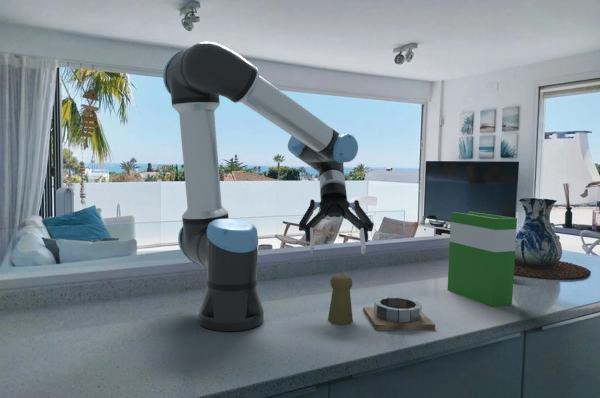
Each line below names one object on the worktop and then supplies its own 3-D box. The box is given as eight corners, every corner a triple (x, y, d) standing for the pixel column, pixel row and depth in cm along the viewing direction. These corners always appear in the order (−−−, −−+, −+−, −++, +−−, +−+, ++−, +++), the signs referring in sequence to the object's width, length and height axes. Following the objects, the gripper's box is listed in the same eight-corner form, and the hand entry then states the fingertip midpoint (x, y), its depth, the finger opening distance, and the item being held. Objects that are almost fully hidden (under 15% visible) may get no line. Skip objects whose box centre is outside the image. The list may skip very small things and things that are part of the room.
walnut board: (375, 329, 105) (375, 324, 105) (363, 311, 118) (363, 306, 118) (435, 329, 106) (435, 324, 106) (416, 311, 119) (416, 306, 119)
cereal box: (447, 290, 141) (451, 212, 139) (466, 288, 144) (470, 211, 142) (491, 306, 125) (496, 218, 123) (511, 304, 128) (517, 218, 126)
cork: (351, 325, 108) (353, 279, 107) (326, 323, 109) (327, 277, 108) (353, 317, 114) (355, 273, 113) (329, 315, 115) (330, 271, 114)
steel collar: (381, 323, 106) (381, 310, 106) (370, 308, 117) (370, 296, 117) (427, 322, 107) (427, 310, 107) (412, 308, 118) (412, 296, 118)
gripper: (373, 198, 137) (382, 259, 124) (289, 197, 137) (290, 258, 123) (377, 181, 132) (387, 243, 118) (290, 180, 131) (290, 242, 117)
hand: (338, 251), depth 120 cm, fingers open, 13 cm apart
